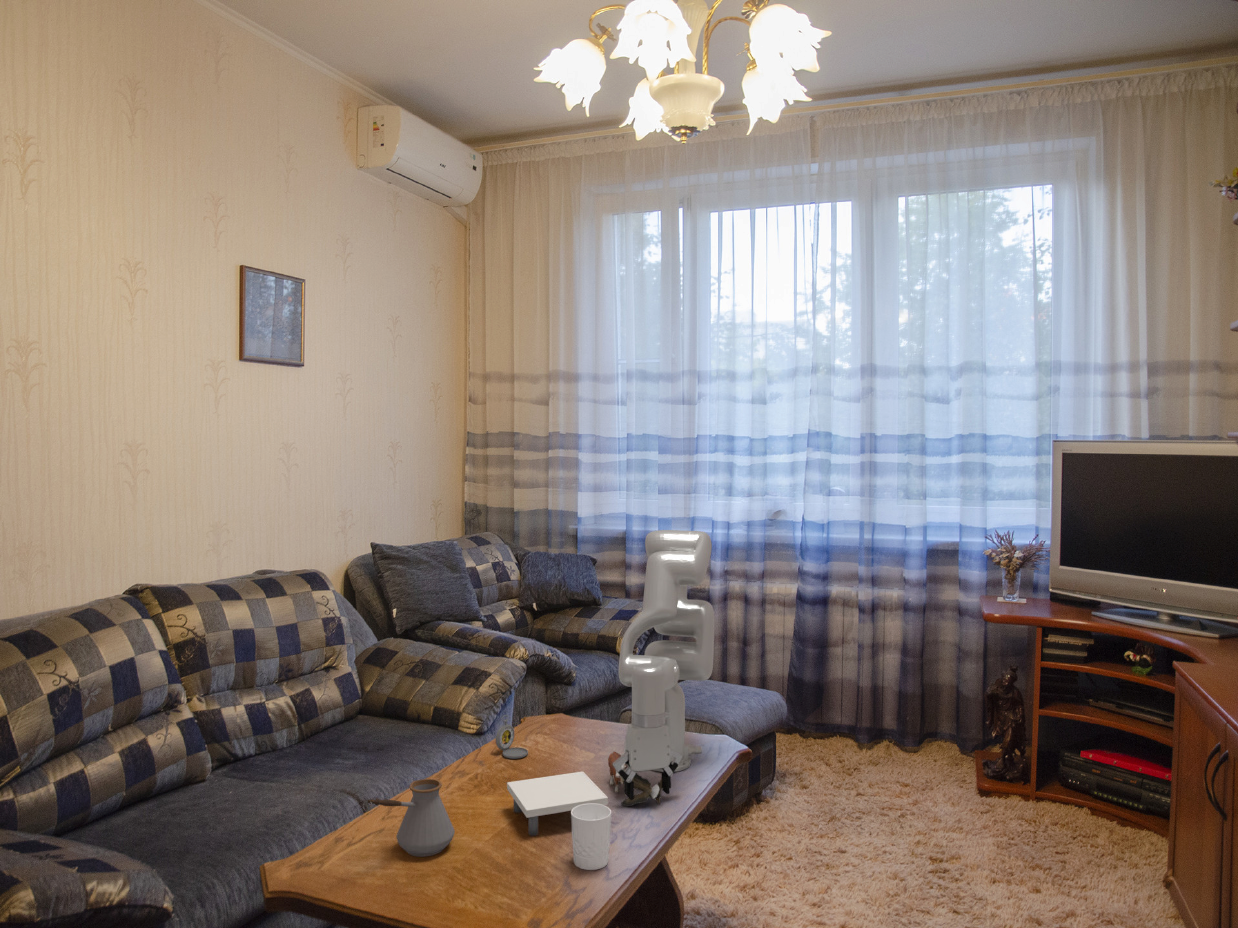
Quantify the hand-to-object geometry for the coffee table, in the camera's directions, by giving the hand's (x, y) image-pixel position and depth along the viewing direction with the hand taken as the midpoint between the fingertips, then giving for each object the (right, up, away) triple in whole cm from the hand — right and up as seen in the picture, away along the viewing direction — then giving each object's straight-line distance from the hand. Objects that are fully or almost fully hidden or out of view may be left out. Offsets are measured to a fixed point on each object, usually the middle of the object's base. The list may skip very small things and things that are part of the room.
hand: (647, 794), depth 196 cm
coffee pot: (-48, -2, -27) cm, 55 cm away
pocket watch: (-35, -1, +30) cm, 46 cm away
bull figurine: (-6, -2, +8) cm, 10 cm away
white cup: (-12, -2, -28) cm, 31 cm away
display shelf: (-20, -2, -8) cm, 22 cm away
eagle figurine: (-1, -2, 0) cm, 2 cm away
